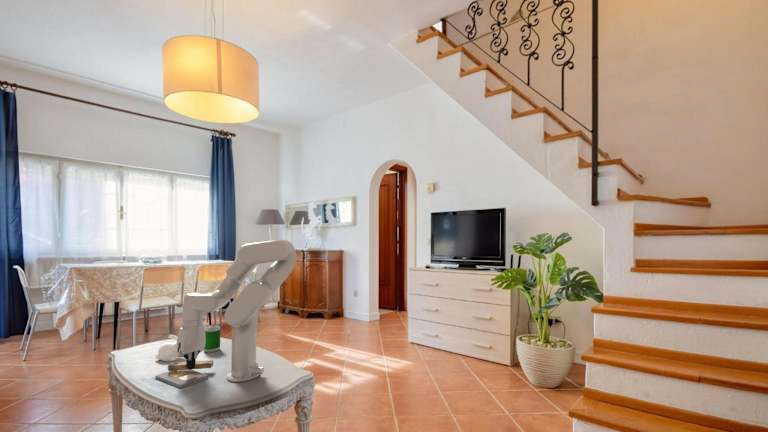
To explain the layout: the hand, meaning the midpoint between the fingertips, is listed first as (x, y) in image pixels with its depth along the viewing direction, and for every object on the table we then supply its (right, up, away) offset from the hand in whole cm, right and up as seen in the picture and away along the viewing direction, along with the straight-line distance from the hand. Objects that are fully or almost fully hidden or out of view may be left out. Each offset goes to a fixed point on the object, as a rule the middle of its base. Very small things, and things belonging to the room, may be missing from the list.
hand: (190, 368), depth 144 cm
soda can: (-7, -5, +33) cm, 34 cm away
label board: (-3, -3, -2) cm, 5 cm away
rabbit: (-20, -5, +21) cm, 29 cm away
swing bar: (-2, -1, +3) cm, 4 cm away
